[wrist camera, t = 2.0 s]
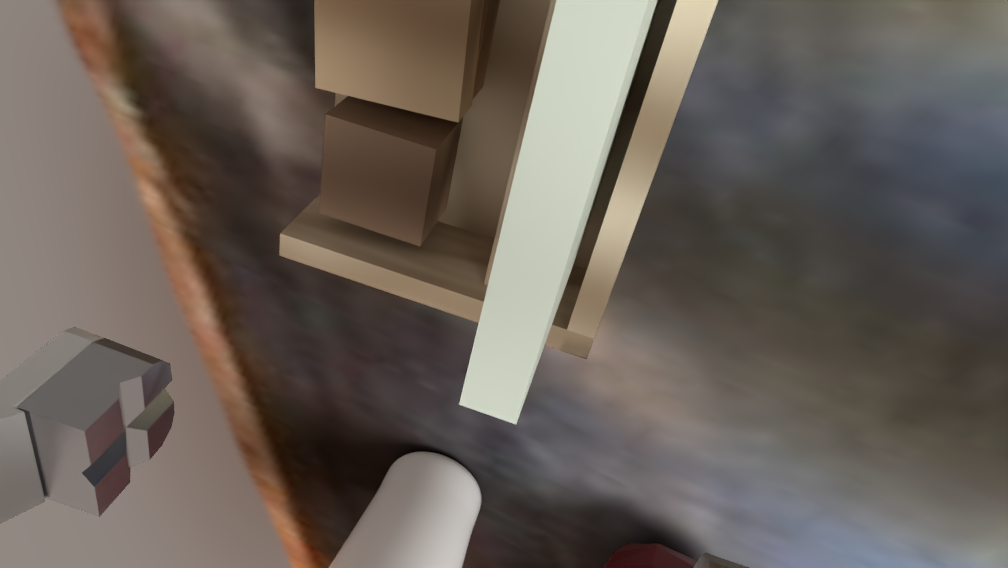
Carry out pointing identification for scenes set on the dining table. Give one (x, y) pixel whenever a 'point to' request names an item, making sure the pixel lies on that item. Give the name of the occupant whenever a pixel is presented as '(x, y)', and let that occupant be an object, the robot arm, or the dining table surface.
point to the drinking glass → (416, 517)
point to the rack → (490, 172)
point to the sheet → (554, 190)
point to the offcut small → (387, 168)
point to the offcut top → (400, 52)
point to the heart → (648, 557)
